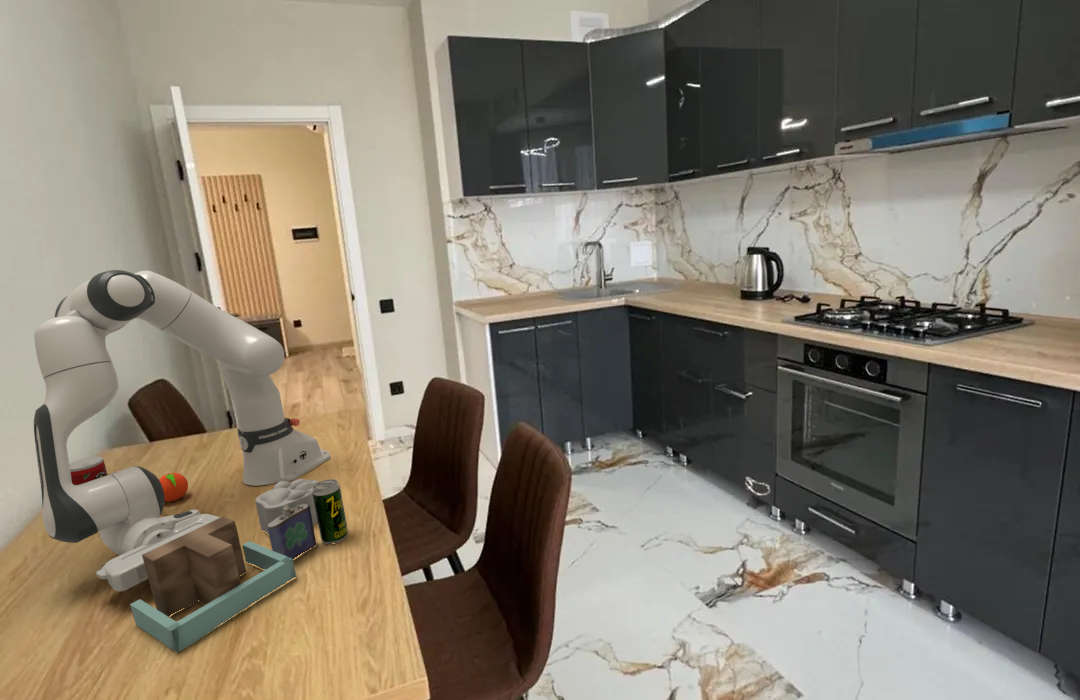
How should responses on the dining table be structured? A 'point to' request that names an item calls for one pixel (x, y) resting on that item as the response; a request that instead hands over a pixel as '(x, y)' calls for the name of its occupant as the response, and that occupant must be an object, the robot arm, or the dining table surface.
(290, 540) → the flask
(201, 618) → the fence
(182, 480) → the clementine
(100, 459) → the canned food
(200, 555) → the t block
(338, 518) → the beer can
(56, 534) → the robot arm
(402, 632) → the dining table surface
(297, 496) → the grey bumpy block
